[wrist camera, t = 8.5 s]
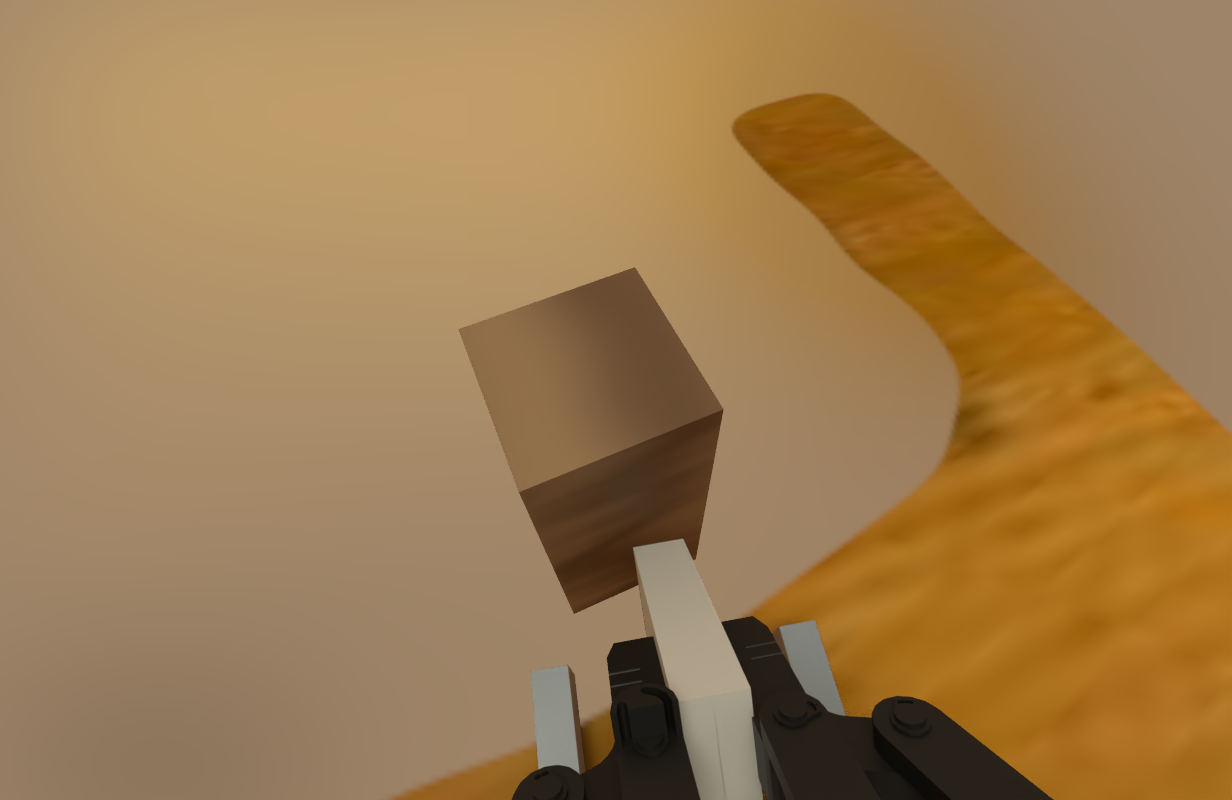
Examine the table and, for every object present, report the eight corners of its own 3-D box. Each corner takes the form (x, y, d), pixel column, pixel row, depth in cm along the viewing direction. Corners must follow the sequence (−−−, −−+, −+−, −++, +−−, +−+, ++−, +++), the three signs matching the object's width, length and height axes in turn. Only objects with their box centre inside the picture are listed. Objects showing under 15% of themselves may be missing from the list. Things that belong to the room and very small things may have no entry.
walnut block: (573, 613, 23) (519, 492, 13) (530, 498, 25) (458, 329, 16) (695, 559, 23) (723, 409, 14) (641, 453, 26) (635, 267, 17)
